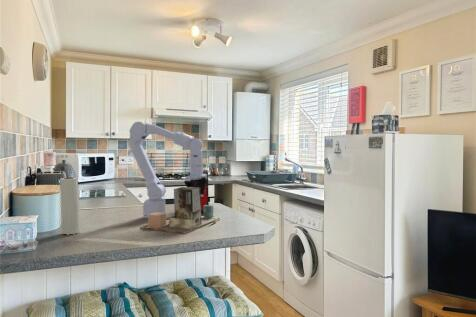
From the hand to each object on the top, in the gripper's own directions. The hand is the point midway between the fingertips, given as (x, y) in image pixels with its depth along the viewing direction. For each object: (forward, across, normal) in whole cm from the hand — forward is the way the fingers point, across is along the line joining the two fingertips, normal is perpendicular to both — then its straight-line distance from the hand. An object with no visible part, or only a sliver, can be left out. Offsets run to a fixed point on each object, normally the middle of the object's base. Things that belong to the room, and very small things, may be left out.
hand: (196, 195), depth 154 cm
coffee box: (+11, -16, -6) cm, 20 cm away
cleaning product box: (+11, +16, +9) cm, 21 cm away
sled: (+10, -10, -6) cm, 15 cm away
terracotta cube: (+9, -22, +5) cm, 24 cm away
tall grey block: (+11, -40, +31) cm, 52 cm away
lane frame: (+10, -16, -2) cm, 19 cm away
